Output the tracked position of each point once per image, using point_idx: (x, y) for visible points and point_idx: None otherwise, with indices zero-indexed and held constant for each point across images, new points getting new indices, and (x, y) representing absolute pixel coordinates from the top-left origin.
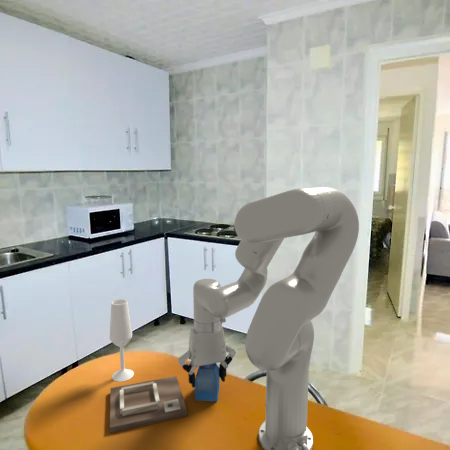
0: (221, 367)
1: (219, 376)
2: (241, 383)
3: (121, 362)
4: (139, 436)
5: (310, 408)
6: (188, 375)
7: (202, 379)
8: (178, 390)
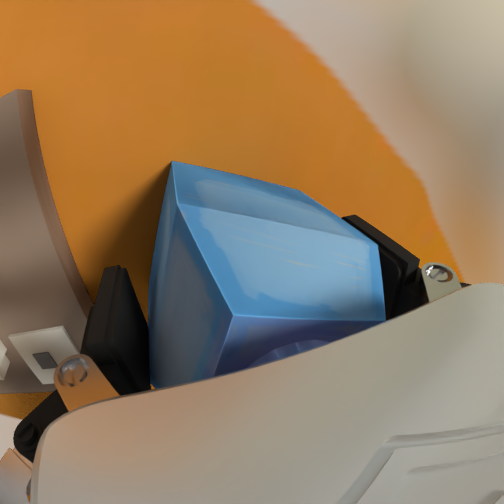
0: (392, 311)
1: (336, 216)
2: (402, 178)
3: None
4: (15, 404)
5: None
6: (84, 333)
7: None
8: (44, 254)
